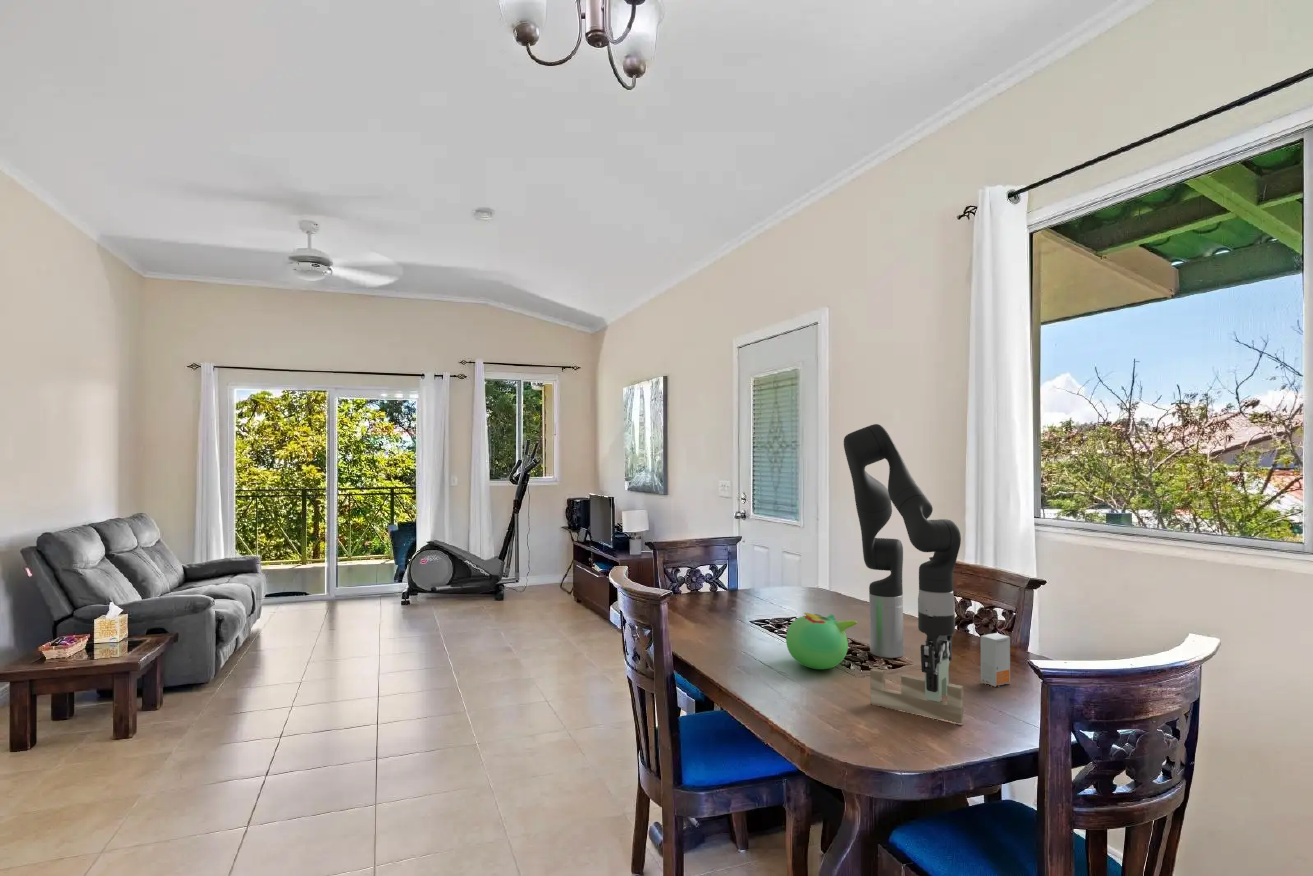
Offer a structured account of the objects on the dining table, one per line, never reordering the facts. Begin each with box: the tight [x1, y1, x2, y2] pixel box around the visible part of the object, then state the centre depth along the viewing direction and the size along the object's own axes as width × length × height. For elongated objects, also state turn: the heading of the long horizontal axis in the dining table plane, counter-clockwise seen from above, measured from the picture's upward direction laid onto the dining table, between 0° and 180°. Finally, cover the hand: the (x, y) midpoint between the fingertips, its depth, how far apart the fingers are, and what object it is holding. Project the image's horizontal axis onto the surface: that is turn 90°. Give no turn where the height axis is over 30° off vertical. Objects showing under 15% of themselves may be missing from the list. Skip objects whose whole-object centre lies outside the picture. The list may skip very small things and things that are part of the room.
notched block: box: [924, 657, 950, 702], centre depth 151 cm, size 6×3×8 cm, turn 140°
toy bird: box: [785, 612, 858, 670], centre depth 187 cm, size 18×17×15 cm
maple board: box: [869, 667, 965, 723], centre depth 154 cm, size 2×20×8 cm, turn 50°
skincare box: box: [980, 632, 1011, 685], centre depth 173 cm, size 6×4×12 cm
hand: (937, 686), depth 150 cm, fingers closed on notched block, 6 cm apart
